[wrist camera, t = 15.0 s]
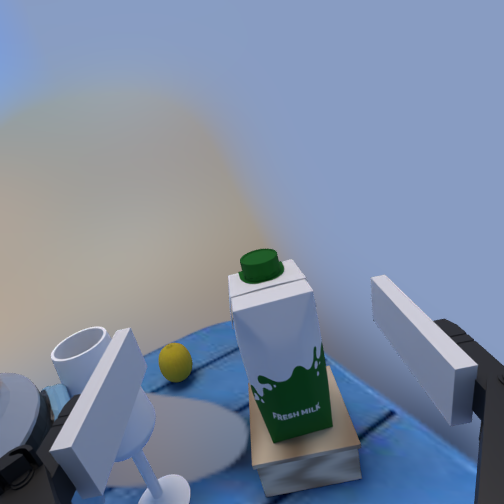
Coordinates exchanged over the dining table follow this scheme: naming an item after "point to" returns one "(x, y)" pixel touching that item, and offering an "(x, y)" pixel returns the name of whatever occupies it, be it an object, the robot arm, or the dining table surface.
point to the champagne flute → (141, 419)
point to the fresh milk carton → (280, 344)
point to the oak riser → (306, 451)
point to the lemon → (175, 362)
